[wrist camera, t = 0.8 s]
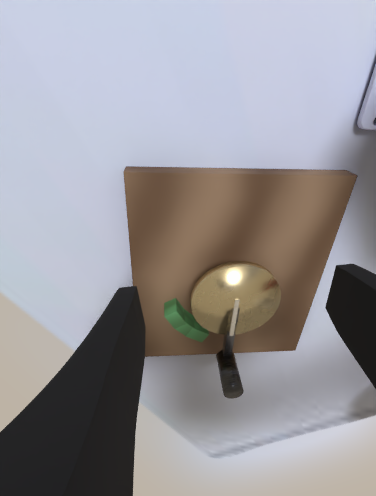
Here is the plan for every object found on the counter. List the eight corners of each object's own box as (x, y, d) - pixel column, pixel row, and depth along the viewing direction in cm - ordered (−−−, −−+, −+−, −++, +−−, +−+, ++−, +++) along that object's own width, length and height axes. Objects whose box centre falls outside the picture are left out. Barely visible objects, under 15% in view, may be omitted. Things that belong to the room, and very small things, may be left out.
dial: (192, 261, 17) (198, 294, 14) (286, 260, 18) (308, 292, 15) (187, 362, 22) (190, 400, 19) (260, 359, 23) (273, 396, 20)
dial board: (346, 170, 18) (374, 184, 15) (289, 339, 26) (302, 365, 24) (126, 166, 17) (119, 180, 14) (140, 345, 25) (137, 373, 22)
